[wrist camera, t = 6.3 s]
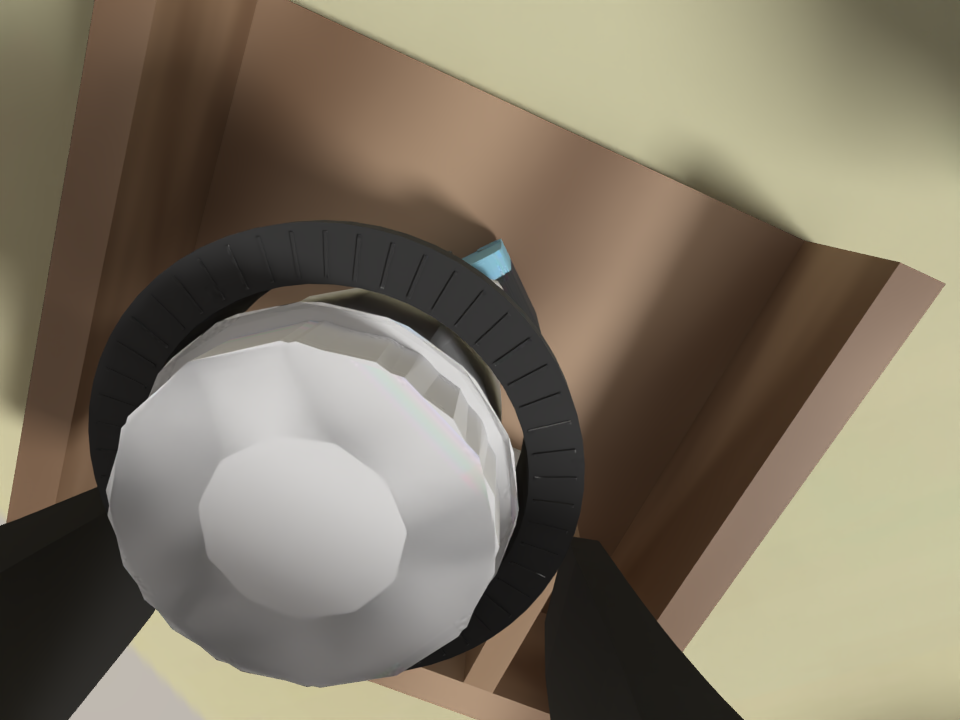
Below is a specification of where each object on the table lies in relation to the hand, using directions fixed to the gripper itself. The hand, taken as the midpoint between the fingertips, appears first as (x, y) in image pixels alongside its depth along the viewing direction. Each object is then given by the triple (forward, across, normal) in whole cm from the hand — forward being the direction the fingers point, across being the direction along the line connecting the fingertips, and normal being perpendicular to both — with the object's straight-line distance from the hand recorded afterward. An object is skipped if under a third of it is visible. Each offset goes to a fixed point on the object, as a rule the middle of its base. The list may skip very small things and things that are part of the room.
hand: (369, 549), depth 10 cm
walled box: (+6, 0, -2) cm, 6 cm away
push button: (+6, 0, -3) cm, 6 cm away
